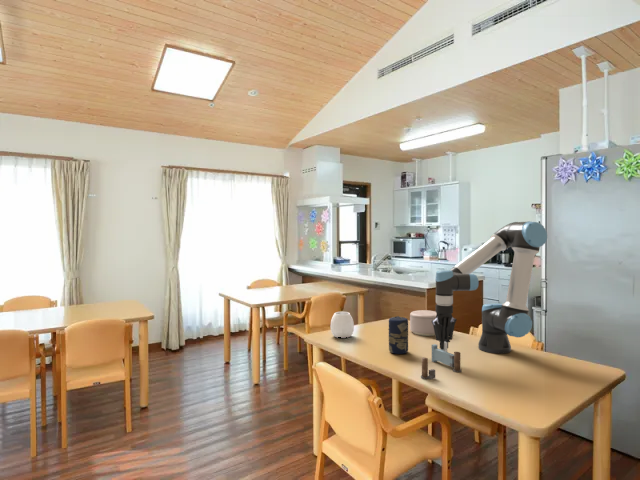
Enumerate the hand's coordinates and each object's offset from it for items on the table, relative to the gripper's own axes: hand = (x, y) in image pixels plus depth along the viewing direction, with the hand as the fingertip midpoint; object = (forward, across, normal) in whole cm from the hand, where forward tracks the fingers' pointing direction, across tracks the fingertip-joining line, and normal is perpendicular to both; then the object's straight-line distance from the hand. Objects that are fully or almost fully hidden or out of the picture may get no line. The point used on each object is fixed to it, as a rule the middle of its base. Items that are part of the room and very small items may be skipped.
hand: (443, 355), depth 186 cm
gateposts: (+3, +11, +12) cm, 16 cm away
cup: (+4, +20, -61) cm, 64 cm away
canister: (+4, +9, -22) cm, 24 cm away
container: (+3, -28, -47) cm, 55 cm away
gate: (+3, +3, +3) cm, 5 cm away
